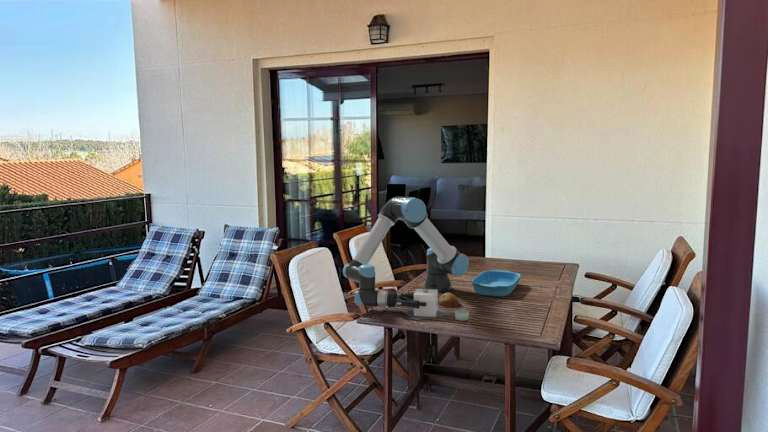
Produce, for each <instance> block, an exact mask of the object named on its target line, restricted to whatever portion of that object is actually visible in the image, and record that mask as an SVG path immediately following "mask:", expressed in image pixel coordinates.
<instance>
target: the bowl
mask: <svg viewBox="0 0 768 432" xmlns="http://www.w3.org/2000/svg"><path fill="white" fill-rule="evenodd" d="M469 313H470V312H469V310H468V309H465V308H464V309H463V308H462V309H461V308H458V309H456V310H454V319H455V320H456V321H459V322H460V321H461V322H464V321H468V320H470V319H469V318H470V317H469V316H470V314H469Z"/></svg>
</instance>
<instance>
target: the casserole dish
mask: <svg viewBox="0 0 768 432" xmlns="http://www.w3.org/2000/svg"><path fill="white" fill-rule="evenodd" d="M520 278H521V273H517V272H513V271H509V270H496V269H495V270H491V269H490V270H484V271H482V272H480V273H479V274H478V275H476V276H475V277H473V279H472V280H471V284H472V287H473V290H474V291H475V293H476V294H477V295H483V296H491V297H507V296H509V295H510V294H511V293H512V292H513V291H514V290H515V289H516V288H517V286H518V284H519V282H520Z"/></svg>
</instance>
